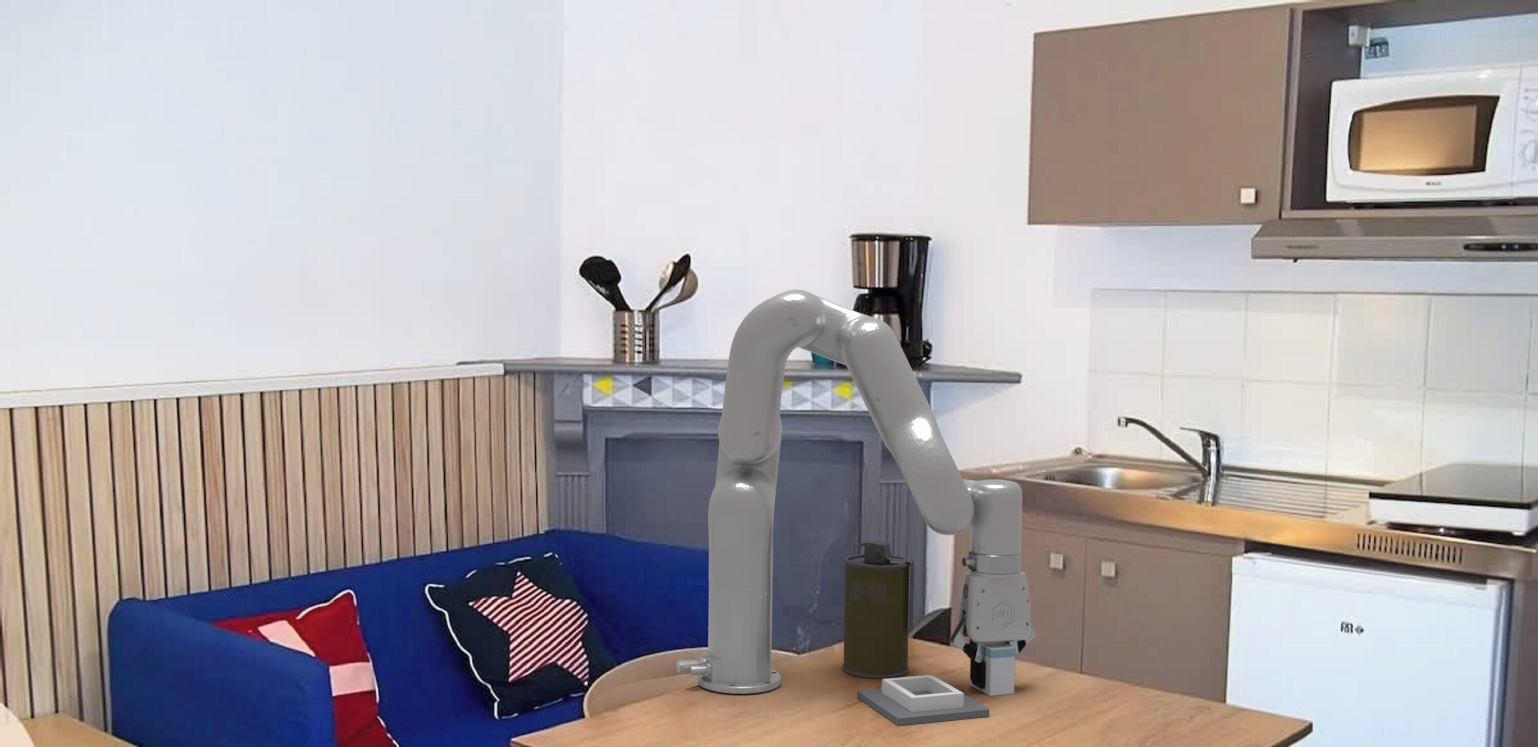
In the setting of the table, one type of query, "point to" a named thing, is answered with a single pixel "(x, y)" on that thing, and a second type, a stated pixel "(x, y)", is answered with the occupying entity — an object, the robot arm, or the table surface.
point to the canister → (877, 612)
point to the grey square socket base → (921, 701)
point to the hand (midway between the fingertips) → (992, 683)
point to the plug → (999, 669)
